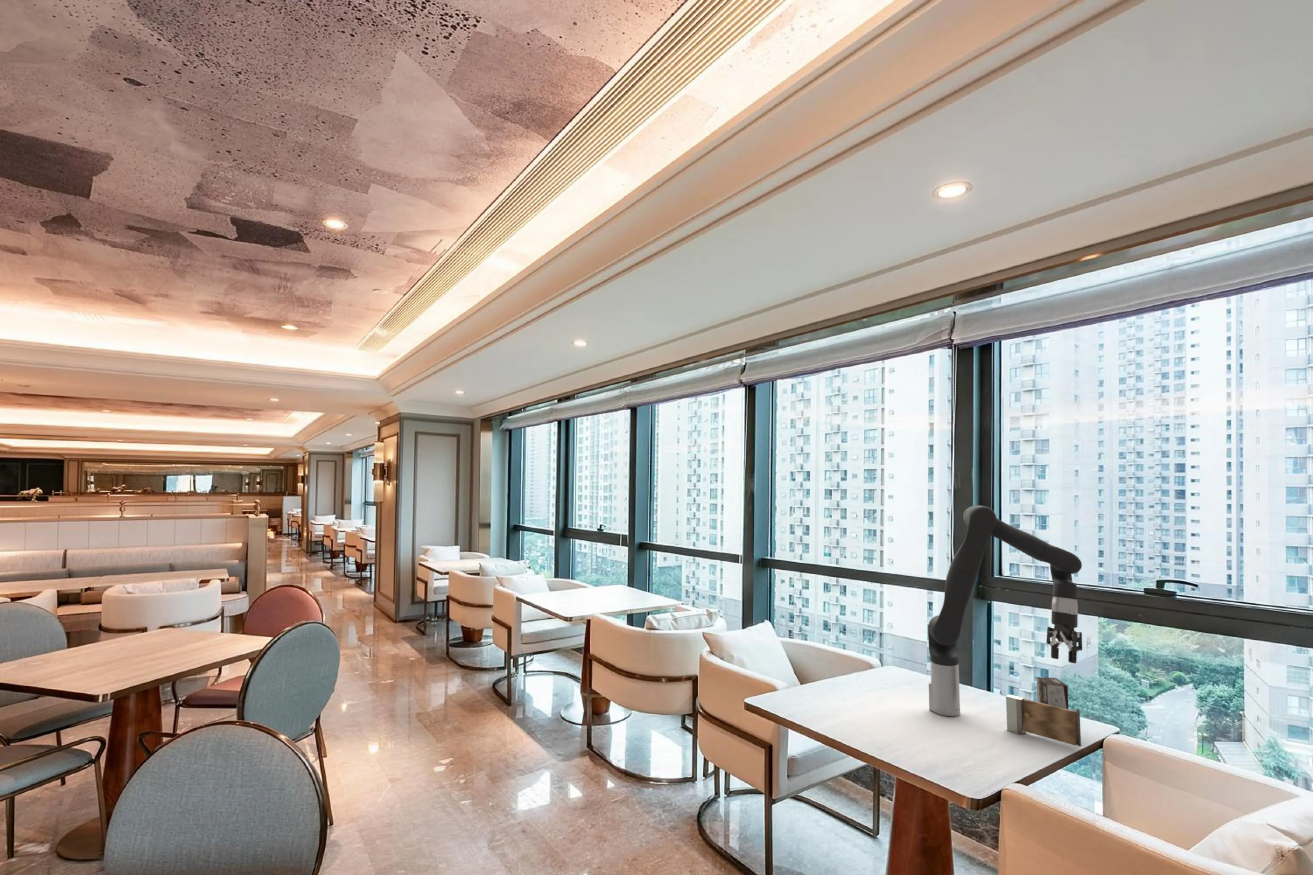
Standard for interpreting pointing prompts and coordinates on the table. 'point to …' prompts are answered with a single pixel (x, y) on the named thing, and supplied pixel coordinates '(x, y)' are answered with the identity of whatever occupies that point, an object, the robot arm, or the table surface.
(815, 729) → the table surface
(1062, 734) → the wooden slab
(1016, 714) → the grey tall block
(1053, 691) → the coffee box
